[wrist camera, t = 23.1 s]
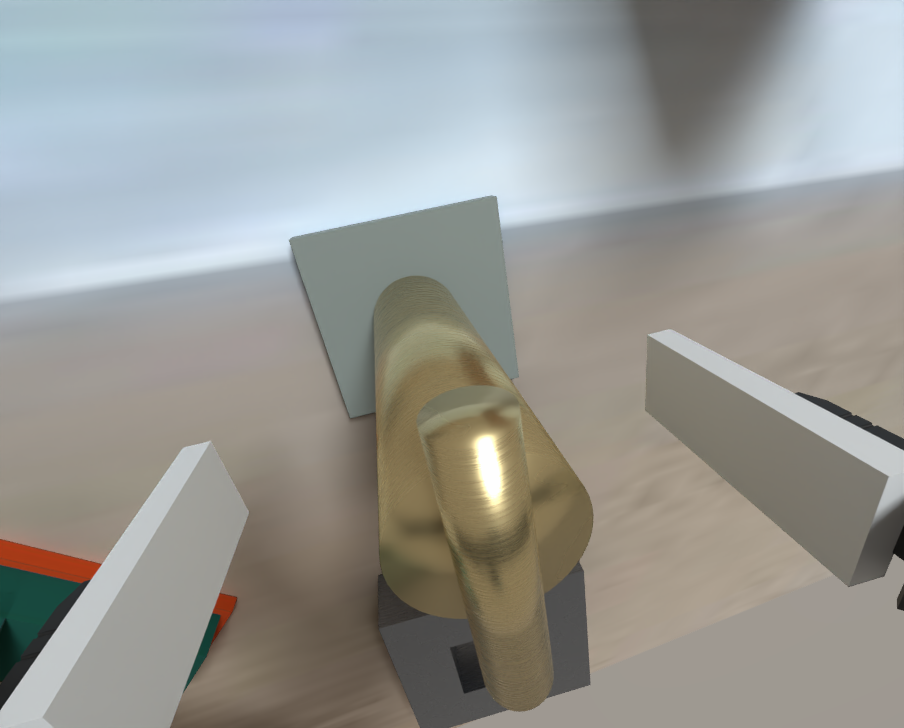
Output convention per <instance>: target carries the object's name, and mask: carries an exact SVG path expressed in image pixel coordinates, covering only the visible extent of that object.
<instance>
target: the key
mask: <svg viewBox="0 0 904 728" xmlns="http://www.w3.org/2000/svg"><path fill="white" fill-rule="evenodd" d="M374 355H375V396H376V437H377V478H378V519H379V556H380V566H381V570H382V573H383V576H384V578H385V580H386V582H387V584H388V586H389V587H390V588H391V590H392V591H393V592H394V593H395V594H396V595H397V596H398V597H399V598H400V599H401V600H402V601H404V602H405V603H406V604H408V605H409V606H411V607H413V608H415V609H417V610H419V611H421V612H424V613H427V614H430V615H434V616H438V617H443V618H452V619H468V622H469V626H470V630H471V634H472V638H473V641H474V645H475V649H476V653H477V657H478V661H479V664H480V668H481V672H482V676H483V680H484V683H485V686H486V688H487V691H488V692H489V694H490V695H491V697H492V698H493V699H494V700H495V701H496V702H497V703H498V704H499V705H501V706H502V707H504V708H506V709H509V710H512V711H527V710H531V709H533V708H535V707H537V706H539V705H540V704H541V703H542V702H543V701H544V700H545V699H546V698H547V696H548V695H549V693H550V690H551V688H552V685H553V679H554V669H553V661H552V653H551V646H550V638H549V630H548V622H547V615H546V607H545V599H544V594H545V593H546V592H548V591H550V590H551V589H552V588H553V587H555V586H556V585H557V584H558V583H560V582H561V581H562V580H563V579H564V578H565V577H566V576H567V575H568V574H569V573H570V571H571V570H572V569H573V568H574V567H575V566H576V564H577V563H578V561H579V560H580V558H581V557H582V555H583V553H584V551H585V549H586V547H587V545H588V542H589V539H590V537H591V532H592V527H593V509H592V504H591V500H590V497H589V495H588V493H587V491H586V489H585V487H584V486H583V484H582V483H581V481H580V480H579V478H578V477H577V475H576V474H575V473H574V471H573V470H572V468H571V467H570V465H569V464H568V462H567V461H566V460H565V458H564V457H563V455H562V454H561V452H560V451H559V449H558V448H557V446H556V445H555V444H554V442H553V441H552V439H551V438H550V436H549V435H548V433H547V432H546V431H545V429H544V428H543V426H542V425H541V423H540V422H539V420H538V419H537V417H536V416H535V415H534V413H533V412H532V410H531V409H530V407H529V406H528V404H527V403H526V402H525V400H524V399H523V397H522V396H521V394H520V393H519V391H518V390H517V388H516V387H515V386H514V384H513V383H512V381H511V380H510V378H509V377H508V375H507V374H506V373H505V371H504V370H503V368H502V367H501V365H500V364H499V362H498V361H497V360H496V358H495V357H494V355H493V354H492V352H491V351H490V349H489V348H488V346H487V345H486V344H485V342H484V341H483V339H482V338H481V336H480V335H479V333H478V332H477V331H476V329H475V328H474V326H473V325H472V323H471V322H470V320H469V319H468V317H467V316H466V315H465V313H464V312H463V310H462V309H461V307H460V306H459V304H458V303H457V302H456V300H455V299H454V297H453V296H452V294H451V293H450V292H449V290H448V289H447V288H446V287H445V286H444V285H443V284H441V283H440V282H438V281H436V280H435V279H432V278H429V277H425V276H407V277H404V278H401V279H398V280H396V281H394V282H393V283H391V284H390V285H389V286H387V287H386V288H385V289H384V290H383V292H382V293H381V294H380V296H379V298H378V300H377V302H376V305H375V309H374Z"/></svg>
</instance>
